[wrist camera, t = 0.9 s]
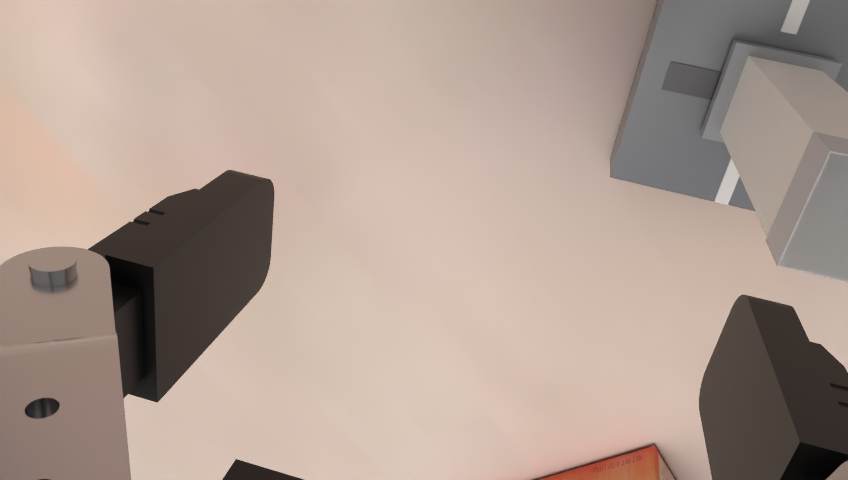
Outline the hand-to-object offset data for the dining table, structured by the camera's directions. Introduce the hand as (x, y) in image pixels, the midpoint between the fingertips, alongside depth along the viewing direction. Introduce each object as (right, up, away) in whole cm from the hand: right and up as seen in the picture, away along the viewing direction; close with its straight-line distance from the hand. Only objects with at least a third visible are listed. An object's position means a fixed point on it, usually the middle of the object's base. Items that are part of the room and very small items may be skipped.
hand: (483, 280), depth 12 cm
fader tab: (+13, +7, +17) cm, 22 cm away
